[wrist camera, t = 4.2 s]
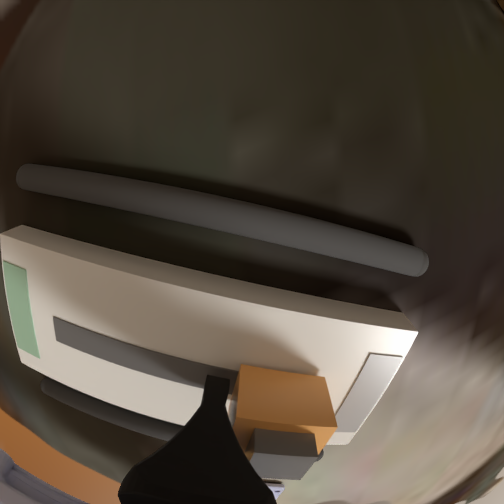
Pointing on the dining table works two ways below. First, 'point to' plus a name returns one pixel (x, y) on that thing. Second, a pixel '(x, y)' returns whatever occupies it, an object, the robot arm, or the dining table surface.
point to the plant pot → (501, 4)
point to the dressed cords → (213, 217)
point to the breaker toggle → (281, 420)
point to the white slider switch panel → (186, 330)
